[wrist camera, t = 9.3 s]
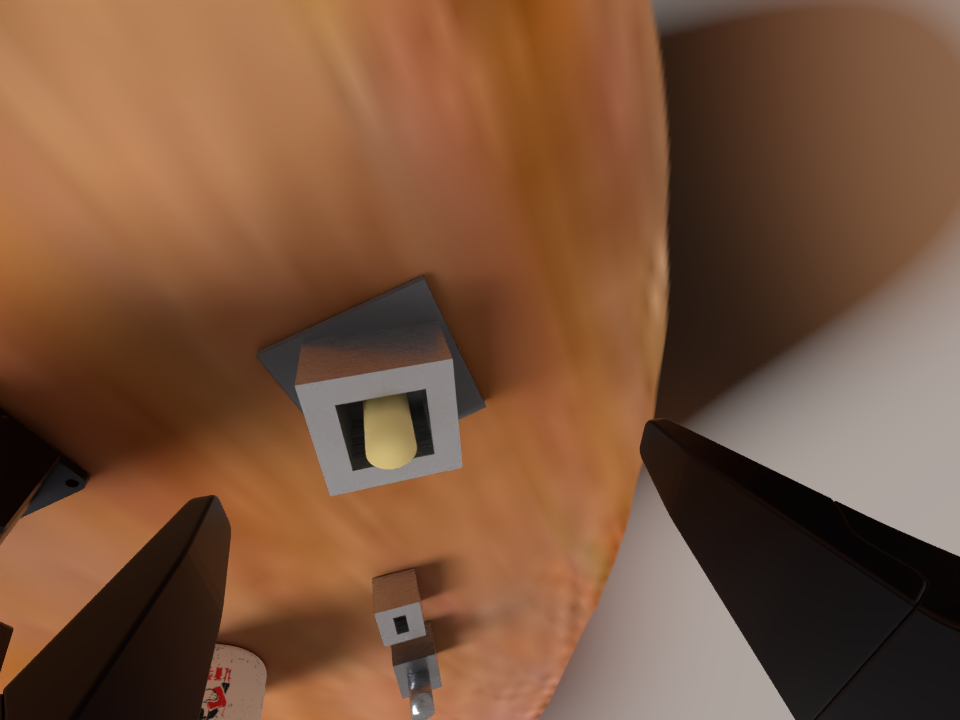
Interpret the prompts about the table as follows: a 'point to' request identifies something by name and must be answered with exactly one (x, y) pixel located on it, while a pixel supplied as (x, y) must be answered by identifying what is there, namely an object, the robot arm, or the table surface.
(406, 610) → the link
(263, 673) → the teacup with lid
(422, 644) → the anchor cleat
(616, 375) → the table surface
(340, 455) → the end link
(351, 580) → the table surface
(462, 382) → the grey peg holder
